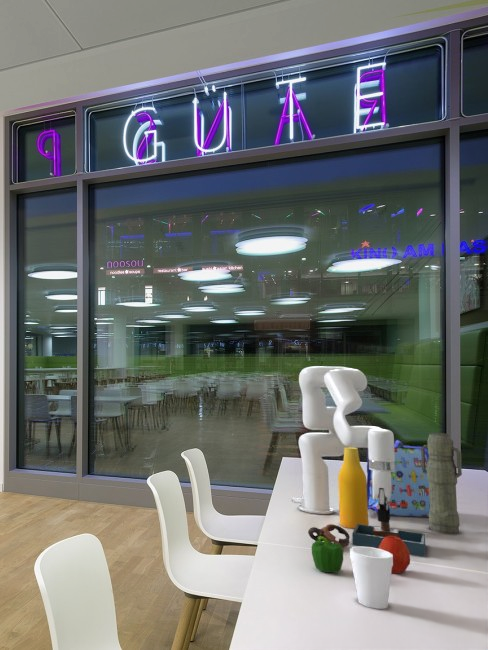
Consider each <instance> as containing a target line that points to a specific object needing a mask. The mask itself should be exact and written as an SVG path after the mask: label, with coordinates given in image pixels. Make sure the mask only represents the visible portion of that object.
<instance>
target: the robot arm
mask: <svg viewBox="0 0 488 650" xmlns="http://www.w3.org/2000/svg"><path fill="white" fill-rule="evenodd" d="M298 383H299V384H298V385H299V388H300V391H301V396H302V402H301V403H302V405H301V406H302V423H303V426H304V427H305V428H306V429H308V430H313V431H314V430H315V431H328V432H306V433H304V434H301V435H300V436H299V438H298V448H299V451H300V452H299V453H300V457H301V459H300V460H301V471H302V472H301V473H302V475H301V477H302V478H301V479H302V497H299V498H298V497H294V496H293V497H291V502H292V503H293V504H299V506H298V507H299V508H298V509H299V510H300V511H302V512H305V513H309V514H315V515H331V514H334V513H335V509H334V507H331V505H330V479H329V477H330V476H329V467H328V465H327V463H326V462H325V460H324V459H323V457H342V456H344V449H345V447H353V448H357V449H359V448H368V453H367V456H368V455H369V469H370V470H373V473H372V487H373V500H375V499H377V497H378V513H377V521H378V522H380V523H381V522H389V523H390V520H391V515H390V508H389V501H390V498H391V472H395V454H394V444H395V436H394V432H393V431H392V430H390V429H385V428H381V427H380V426H373V425H350V424H349V423H348V421H347V420H348V419H346V415H349V414H352V413H354V412H356V411H357V410H359V409H360V408H361V406H362V405H363V400H362V398H361V396H360V394H359V393H358V392H363V391H364V390H366V389H367V387H368V379H367V377H366V375H365V374H364V372H362V371H361V370H359V369H357V368H352V367H346V366H327V365H325V366H324V365H323V366H319V365H317V366H307V367H304V368H303V369H301V371H300V372H299V375H298ZM322 388H327V391H328V392H329V394H330V396H331V398H332V400H333V402H334V404H335V405H336V406H327V405H326V404H327V403H326V401H327V399H326V398H327V397H326V394H325V393H324V391H323V390H322ZM385 503H386V504H385Z"/></svg>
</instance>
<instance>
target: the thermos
mask: <svg viewBox="0 0 488 650" xmlns="http://www.w3.org/2000/svg"><path fill="white" fill-rule="evenodd" d="M421 447H422V448H421V454H422V470H423V473H426V474H427V480H428V482H429V494H430V510H429V517H428V522H429V530H430V531H433V532H437V533H441V534H448V535H458V534H460V526H461V523H460V515H459V512H458V502H457V484H458V478H460V477H461V476H462V475H463V472H462V451H461V450H460V449H459V448H458V447H455V446H454V441H453V439H452V436H451V434H448V433H445V432H444V433H443V432H432V433H429V435H428V438H427V444H424V445H422V446H421ZM425 448H426V449H427V450H428V454H429V458H428V463H427V470H426V471H425ZM455 453H456V464H455V459H454V456H455Z"/></svg>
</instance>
